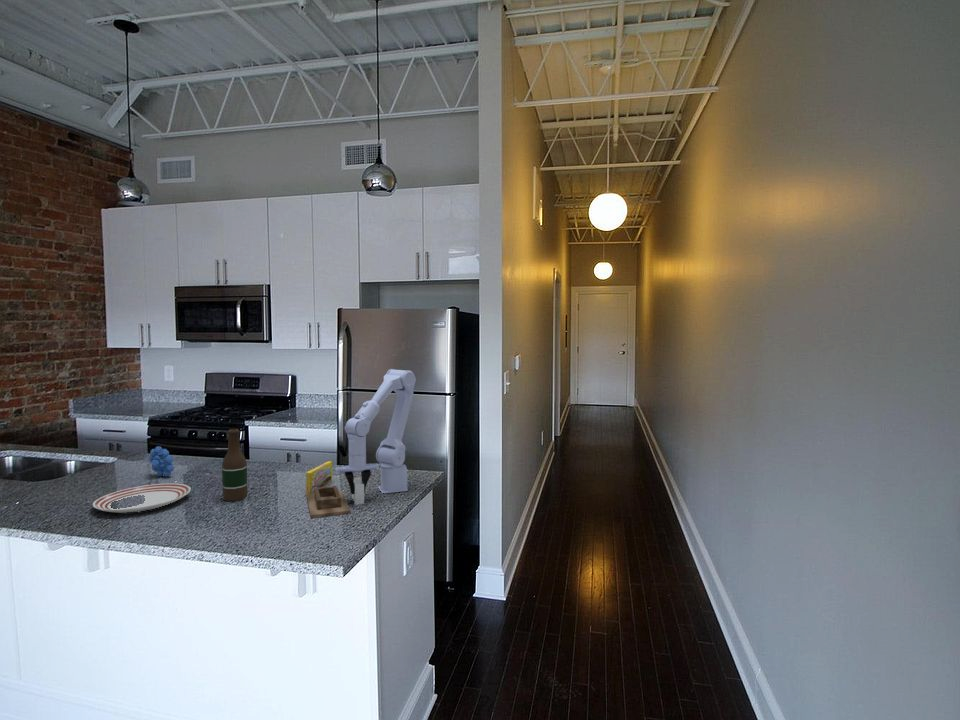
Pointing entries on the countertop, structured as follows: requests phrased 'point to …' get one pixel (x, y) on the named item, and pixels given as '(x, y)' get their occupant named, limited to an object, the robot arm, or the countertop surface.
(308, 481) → the candy box
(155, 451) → the grapes
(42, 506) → the countertop surface
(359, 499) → the grey rectangular block
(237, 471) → the beer bottle
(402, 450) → the robot arm
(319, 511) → the walnut well stand
